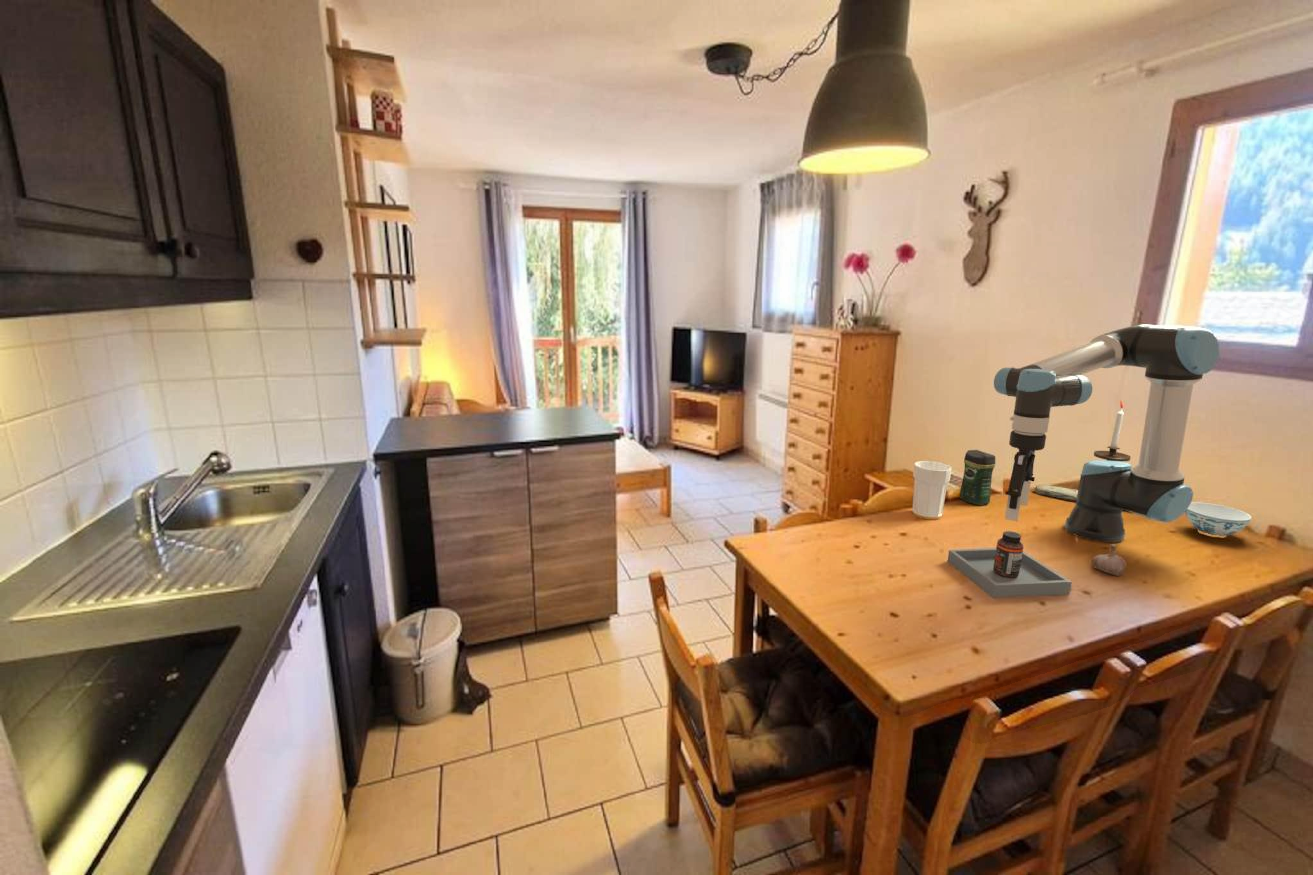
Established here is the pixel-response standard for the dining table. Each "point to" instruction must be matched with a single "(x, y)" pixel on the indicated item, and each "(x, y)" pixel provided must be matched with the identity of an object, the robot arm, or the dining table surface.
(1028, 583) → the tray
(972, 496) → the coffee jar
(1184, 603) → the dining table surface
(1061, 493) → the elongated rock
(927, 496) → the cup
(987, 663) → the dining table surface
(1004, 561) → the supplement bottle
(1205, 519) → the chinaware
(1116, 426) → the candlestick
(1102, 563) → the garlic bulb
